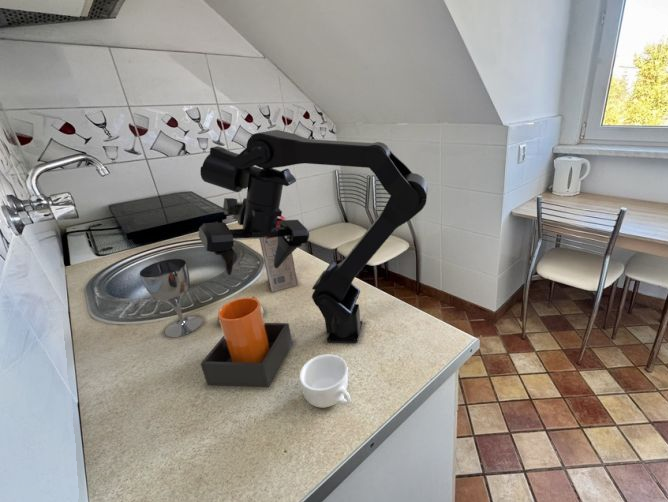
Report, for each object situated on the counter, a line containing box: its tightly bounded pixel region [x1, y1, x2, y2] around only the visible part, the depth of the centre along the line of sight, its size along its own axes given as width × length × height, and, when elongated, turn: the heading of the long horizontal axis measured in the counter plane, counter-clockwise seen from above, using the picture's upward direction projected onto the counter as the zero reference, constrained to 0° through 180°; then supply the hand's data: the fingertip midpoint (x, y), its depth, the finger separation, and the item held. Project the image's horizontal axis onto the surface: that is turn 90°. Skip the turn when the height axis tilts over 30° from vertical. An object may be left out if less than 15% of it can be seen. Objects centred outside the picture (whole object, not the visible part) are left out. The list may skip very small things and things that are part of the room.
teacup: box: [299, 353, 352, 408], centre depth 53 cm, size 10×8×5 cm
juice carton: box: [259, 213, 298, 293], centre depth 85 cm, size 7×7×22 cm
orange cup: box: [217, 297, 270, 363], centre depth 59 cm, size 7×7×12 cm
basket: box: [200, 322, 293, 388], centre depth 61 cm, size 11×11×5 cm
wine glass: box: [139, 258, 203, 338], centre depth 69 cm, size 8×8×15 cm
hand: (253, 270), depth 65 cm, fingers open, 9 cm apart
